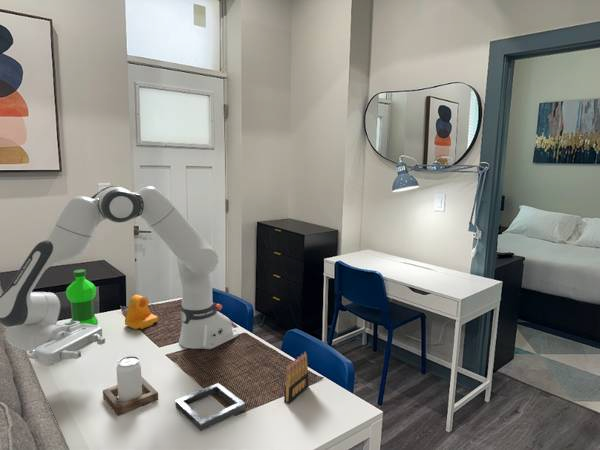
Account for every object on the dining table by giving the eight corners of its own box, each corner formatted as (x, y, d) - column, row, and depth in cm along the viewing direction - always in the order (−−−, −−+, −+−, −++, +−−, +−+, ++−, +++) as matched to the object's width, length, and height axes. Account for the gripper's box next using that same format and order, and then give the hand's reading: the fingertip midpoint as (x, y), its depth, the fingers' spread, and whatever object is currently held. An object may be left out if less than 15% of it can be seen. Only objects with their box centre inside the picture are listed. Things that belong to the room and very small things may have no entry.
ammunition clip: (289, 404, 123) (289, 365, 121) (283, 402, 124) (284, 364, 122) (308, 387, 132) (309, 351, 130) (303, 385, 133) (304, 349, 131)
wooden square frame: (141, 383, 132) (141, 376, 132) (158, 400, 124) (157, 392, 124) (103, 398, 125) (102, 390, 124) (117, 416, 116) (117, 408, 116)
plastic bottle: (103, 326, 173) (99, 267, 168) (91, 338, 162) (86, 275, 158) (78, 326, 172) (73, 267, 168) (64, 338, 162) (59, 275, 158)
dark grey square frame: (218, 388, 130) (218, 382, 130) (245, 409, 120) (245, 403, 120) (175, 406, 121) (175, 400, 121) (200, 431, 111) (200, 424, 111)
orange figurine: (135, 331, 169) (133, 302, 167) (125, 326, 174) (123, 298, 171) (158, 322, 178) (157, 295, 176) (148, 318, 182) (147, 291, 180)
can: (136, 390, 129) (134, 353, 127) (146, 399, 124) (144, 361, 122) (115, 398, 124) (112, 360, 122) (124, 408, 120) (121, 369, 118)
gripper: (22, 345, 119) (61, 353, 115) (80, 318, 138) (115, 325, 134) (24, 366, 120) (63, 375, 116) (81, 336, 139) (116, 343, 135)
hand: (91, 348), depth 125 cm, fingers open, 8 cm apart
